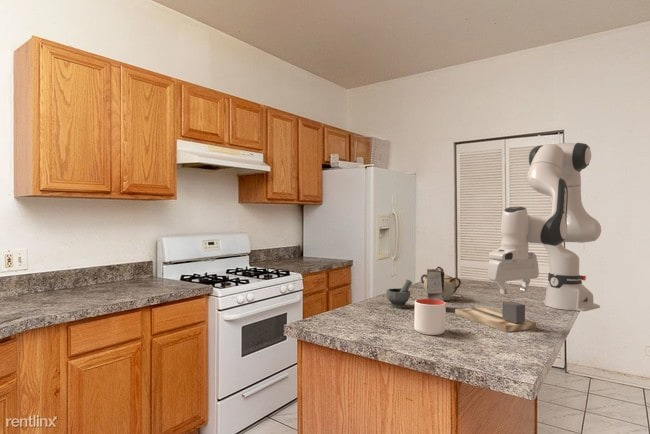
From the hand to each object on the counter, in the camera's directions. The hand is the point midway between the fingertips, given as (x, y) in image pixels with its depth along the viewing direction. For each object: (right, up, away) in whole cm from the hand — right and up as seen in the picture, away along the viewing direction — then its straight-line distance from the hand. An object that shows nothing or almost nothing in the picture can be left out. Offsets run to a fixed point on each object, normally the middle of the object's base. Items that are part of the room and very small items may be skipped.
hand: (513, 292), depth 140 cm
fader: (0, -10, 0) cm, 10 cm away
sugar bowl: (-13, -12, +46) cm, 49 cm away
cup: (-31, -12, -7) cm, 34 cm away
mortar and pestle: (-35, -12, +29) cm, 46 cm away
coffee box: (-21, -12, +26) cm, 35 cm away
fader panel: (-4, -12, +8) cm, 15 cm away
